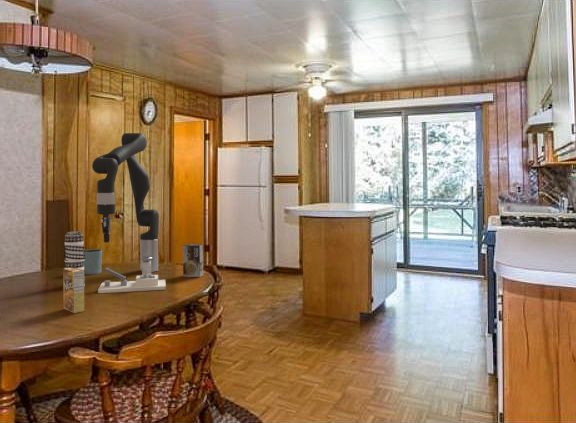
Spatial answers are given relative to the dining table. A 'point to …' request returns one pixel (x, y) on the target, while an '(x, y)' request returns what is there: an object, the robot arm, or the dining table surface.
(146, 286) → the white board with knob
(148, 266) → the steel pin
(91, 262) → the blue cylindrical container
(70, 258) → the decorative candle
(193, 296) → the dining table surface
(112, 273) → the latch lever
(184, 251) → the coffee box
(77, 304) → the candy box
